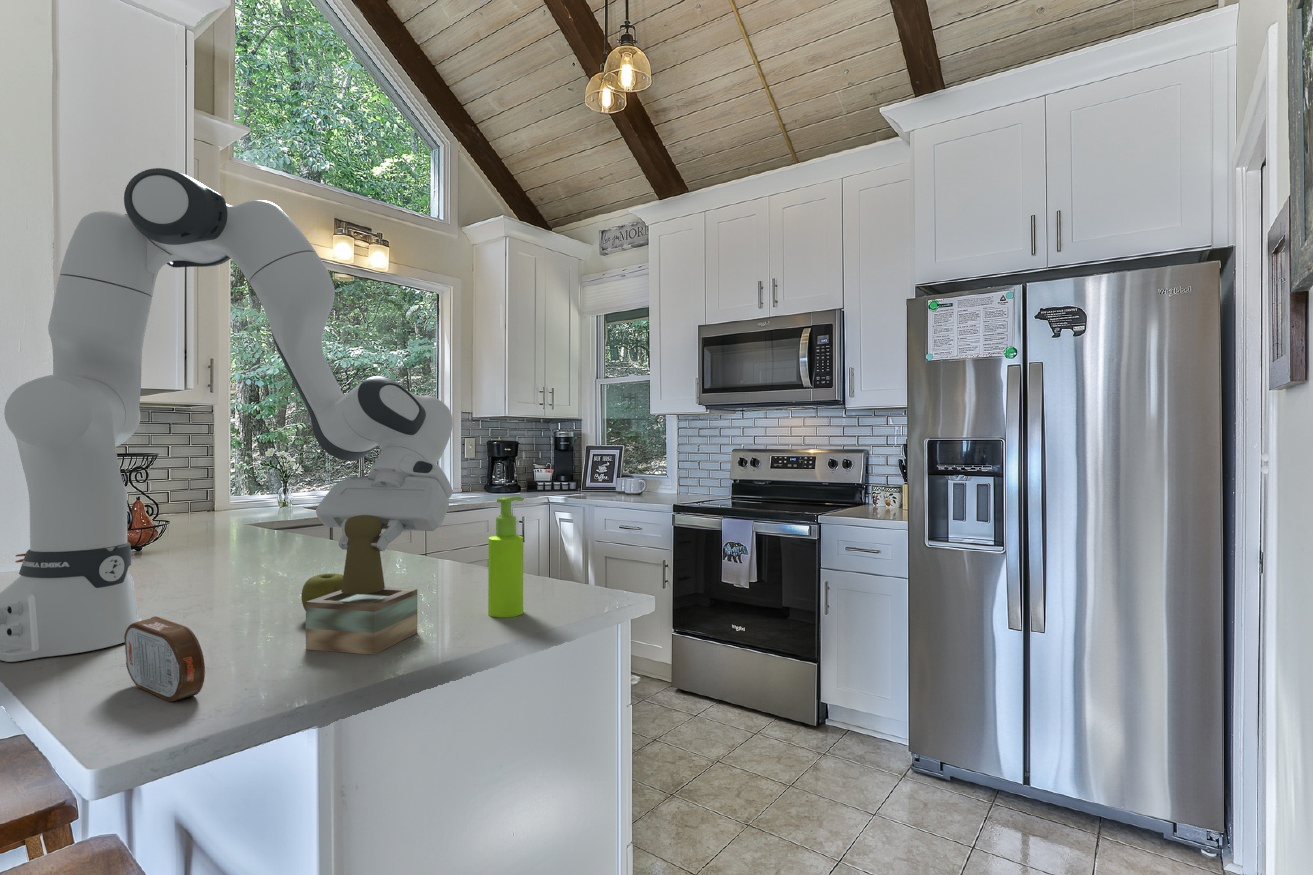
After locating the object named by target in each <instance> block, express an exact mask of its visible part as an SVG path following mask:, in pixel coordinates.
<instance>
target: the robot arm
mask: <svg viewBox="0 0 1313 875" xmlns="http://www.w3.org/2000/svg"><path fill="white" fill-rule="evenodd" d="M123 205H124V208H125V211H126V213H124V214H123V213H121V212H117V211H116V212H115V211H108V210H106V211H102V210H101V211H93V212H90V213H87V214H86V215H84V216H83V217H82V218H81V219H80V220H79V222H78V224H77V226H76V227H75V230H74V231H73V233H72V236H71V239H70V241H69V243H68V245H67V248H66V250H65V253H64V256H63V260H62V263H61V268H60V272H59V275H58V280H57V283H56V290H55V293H54V298H53V303H52V308H51V312H50V315H49V316H50V317H49V322H48V325H47V330H48V335H49V337H50V342H51V346H52V347H51V350H52V374H50V375H46V376H41V377H37V378H35V379H32V380H30V381H29V380H28V382H25V383H22V384H21V385H19V386H18V387H16V389H15V390H14V391H12V393H11V394H10V395H9V397H8V398H7V400H6V402H5V405H4V413H3V414H4V420H5V422H6V423H5V424H6V426H7V427H8V429H9V431H10V432H11V433H12V435H13V437H14V438H15V440H16V444H17V448H18V453H19V458H20V461H21V462H20V463H21V465H22V471H23V473H24V477H25V482H26V486H27V491H28V493H27V494H28V499H29V500H28V502H29V549H27V551H26V552H25V553H18V554H15V557H23V558H21V559H18V560H15V563H17V564H18V563H21V566H20V569H19V572H18V574H19V577H18V578H16V579H15V580H14V581H13V582H11V583H10V584H9V585H8V586H6V587H5V588H4V589H2V590H1V591H0V661H3V662H7V663H9V662H11V663H12V662H13V663H14V662H20V661H21V662H22V661H27V660H32V659H39V658H46V657H47V658H48V657H55V656H65V655H72V654H78V653H84V652H90V651H91V652H92V651H95V650H100V649H104V648H109V647H113V646H117V645H119V644H122V643H125V640H124V636H125V632H126V630H127V628H128V627H129V625H131V624H132V623H135V622H138V621H142V620H143V618H139V614H138V606H137V605H138V604H137V597H136V596H137V595H136V589H135V582H134V578H133V576H132V574H130V572H129V567H130V566H131V565H132V556H133V550H132V547H131V546H132V544H131V542H129V541H128V490H127V487H126V486H125V484H124V480H123V478H122V477H123V476H122V474H121V468H120V464H119V460H118V453H117V447H119V446H120V445H122V444H123V443H125V442H126V441H127V440H129V439H130V438H131V437H132V436H133V435H134V434H135V433H136V431H137V430H138V428H139V426H140V423H141V422H140V421H141V410H140V402H141V393H142V392H141V390H142V389H141V388H142V363H143V362H142V361H143V360H142V359H143V348H144V341H145V336H146V330H147V327H148V326H147V325H148V320H149V315H150V310H151V305H152V301H153V297H154V293H155V292H154V290H155V287H156V281H157V278H158V274H159V272H160V270H161V269H162V268H163V266H165V265H168V266H169V267H171V268H189V267H190V268H191V267H192V268H193V267H199V268H204V267H206V268H207V267H215V266H218V265H219V266H220V265H222V264H225V263H226V262H228V261H230V260H232V261H233V262H234V264H236V265H237V267H238V268H239V269H240V271H241V272H242V274H243V276H244V277H245V278H246V280H247V282H248V283H249V285H250V286H251V288H252V290H253V291H254V293H255V294H256V297H257V298H258V300H259V302H260V304H261V306H262V309H263V310H264V312H265V315H266V318H267V320H268V323H269V328H270V331H271V336H272V339H273V343H274V345H275V346H274V347H275V348H276V350H277V352H278V354H279V357H280V359H281V361H282V363H283V365H284V366H285V369H286V370H287V372H288V374H289V376H290V378H291V381H292V382H293V384H294V386H295V388H296V390H297V392H298V394H299V396H300V397H301V399H302V401H303V403H304V405H305V407H306V409H307V412H308V415H309V417H310V421H311V425H312V426H311V427H312V430H313V435H314V437H315V439H316V442H317V443H318V445H319V446H320V447H321V448H322V450H324V452H325V453H327V454H329V456H331V457H333V458H335V459H337V460H341V461H346V462H352V461H353V462H354V461H358V460H359V461H360V460H361V459H363V458H365V457H366V456H367V455H368V454H370V453H371V452H372V451H373V450H374V449H375V448H376V447H377V446H379V447H380V448H381V451H380V453H379V455H378V457H377V458H376V460H375V462H374V463H373V465H372V467H371V469H370V470H369V472H368V475H367V476H354V475H352V476H349V477H347V478H345V479H343V480H340V481H338V482H337V483H336V484H335V485H334V486H332V487H331V489H330V490H329V491H328V492H327V493H326V495H325V496H323V498H322V499H321V500H320V502H319V504H318V505H317V507H316V509H315V513H316V516H317V518H318V519H319V521H320V522H321V523H322V525H324V527H326V528H335V529H336V528H337V529H339V528H341V533H342V535H341V537H340V539H339V541H338V546H339V547H340V549H341V550H345V551H347V547H348V537H347V536H346V534H345V527H344V526H345V522H346V521H347V519H349V518H351V517H354V516H359V515H371V516H376V517H378V518H379V519H380V520H381V523H382V530H385V531H382V532H381V534H380V535H379V536H376V537H375V538H374V540H373V541H372V543H371V547H372V548H373V549H374V550H375V551H380V552H385V551H386V549H387V548H388V546H389V544H391V543H392V542H393V541H394V540H396V538H397V539H398V537H400V535H402V532H403V531H416V532H418V531H419V532H434V531H436V530H438V529H439V528H440V527H441V526H442V525H443V523H444V521H445V517H446V515H447V513H448V510H449V507H450V501H449V499H450V498H452V496H453V492H454V490H453V487H452V485H451V482H450V481H449V479H448V476H447V475H446V473H445V472H444V471H443V469H442V468H441V466H440V465H438V464H436V463H437V462H439V460H440V459H441V458H442V456H443V454H444V453H445V449H446V447H447V445H448V443H449V440H450V438H451V436H452V435H451V434H452V430H453V425H454V422H453V420H454V419H453V414H452V411H451V410H450V409H449V407H448V405H446V403H444V402H443V400H440V399H439V398H437V397H434V396H431V395H418V394H415V393H413V392H411V391H409V390H407V389H406V388H405V387H404V386H403V385H402V384H400V383H399V382H397V381H395V380H393V379H391V378H389V377H386V376H381V375H376V376H370V377H368V378H366V379H364V380H363V381H362V382H361V383H359V384H357V385H356V386H355V387H353V388H352V389H351V390H349V391H348V393H346V394H344V393H343V391H342V389H341V387H340V386H339V385H340V384H339V383H338V381H337V379H336V377H335V375H334V373H333V371H332V369H331V367H330V364H329V363H328V362H327V360H326V358H325V354H324V352H323V351H324V350H323V335H324V332H325V327H326V324H327V320H328V318H329V316H330V314H331V311H332V309H333V307H334V302H335V295H336V294H335V293H336V289H335V285H334V282H333V279H332V277H331V275H330V272H329V270H328V268H327V267H326V264H324V262H323V261H322V259H321V257H320V256H319V254H318V253H317V251H316V250H315V247H313V246H312V244H311V242H310V240H308V238H307V237H306V236H305V234H304V233H303V231H301V229H300V228H299V227H298V226H297V225H296V223H295V222H294V221H293V220H292V219H291V218H290V216H289V215H288V214H287V213H286V212H285V211H284V210H283V209H282V208H281V207H280V206H278V205H277V204H275V203H274V202H271V201H269V200H262V199H255V200H253V199H252V200H248V201H245V202H242V203H239V204H236V205H230V204H227V202H226V200H225V197H224V196H223V195H222V194H221V193H219V192H217V191H215V190H214V189H211V188H210V187H208V186H206V185H205V184H203V183H201V182H200V181H198V180H197V179H194V178H193V177H191V176H189V175H187V174H185V173H182V172H179V171H177V170H173V169H170V168H163V167H162V168H161V167H158V168H157V167H155V168H149V169H148V168H147V169H146V170H141V171H140V172H139V173H137V174H136V175H134V176H133V177H132V178H131V179H130V180H129V181H128V182H127V185H126V187H125V190H124V194H123Z"/></svg>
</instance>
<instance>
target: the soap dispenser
mask: <svg viewBox="0 0 1313 875" xmlns="http://www.w3.org/2000/svg"><path fill="white" fill-rule="evenodd" d="M524 498H525V497H520V496H503V497H498V498H496V503H500V514H499V515H498V516H496V517H495V535H492V536H489V537H488V541H487V542H488V552H487V556H488V563H487V566H488V567H487V568H488V576H487V578H488V580H487V582H488V585H487V586H488V590H487V591H488V596H487V597H488V598H487V599H488V600H487V601H488V602H487V604H488V605H487V606H488V607H487V608H488V609H487V610H488V612H487V614H488V616H490V617H492V618H504V619H505V618H513V617H518V616H521V615H522V614H523V613H524V536H522V535H519V534H517V516H515V515H513V514H512V502H514V501H516V502H517V501H520V502H522V501H524V500H525V499H524Z"/></svg>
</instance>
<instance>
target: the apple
mask: <svg viewBox="0 0 1313 875" xmlns="http://www.w3.org/2000/svg"><path fill="white" fill-rule="evenodd" d="M343 575H344V574H340V573H322V574H317V575H314V576H312V577H310V578H308V579H306V581H305V582H304V584H303V585H302V589H301V604H302V606H303V609H304V610H305V612H306V602H307V601H310V600H313V599H316V598H319V597H322V596H325V595H328V594H331V593H334V592H337V591H340V590H341V589H342V582H343Z"/></svg>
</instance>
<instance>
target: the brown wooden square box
mask: <svg viewBox="0 0 1313 875" xmlns="http://www.w3.org/2000/svg"><path fill="white" fill-rule="evenodd" d="M416 634H418V588H407V587H404V588H403V587H388V586H387V587H386V586H385V589H383V590H381V591H378V592H373V593H365V594H347V593H343V592H341V590H340V591H337V592H334V593H331V594H328V595H325V596H322V597H319V598H316V599H313V600H310V601H307V602H306V611H305V650H312V651H321V652H323V651H324V652H336V653H347V654H348V653H350V654H360V655H361V654H364V655H376V654H378V653H380V652H382V651H384V650H386V649H389V648H390V647H392V646H394V645H396V644H398V643H400V642H402V641H404V640H406V639H407V638H410V637H412V636H414V635H416Z"/></svg>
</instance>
